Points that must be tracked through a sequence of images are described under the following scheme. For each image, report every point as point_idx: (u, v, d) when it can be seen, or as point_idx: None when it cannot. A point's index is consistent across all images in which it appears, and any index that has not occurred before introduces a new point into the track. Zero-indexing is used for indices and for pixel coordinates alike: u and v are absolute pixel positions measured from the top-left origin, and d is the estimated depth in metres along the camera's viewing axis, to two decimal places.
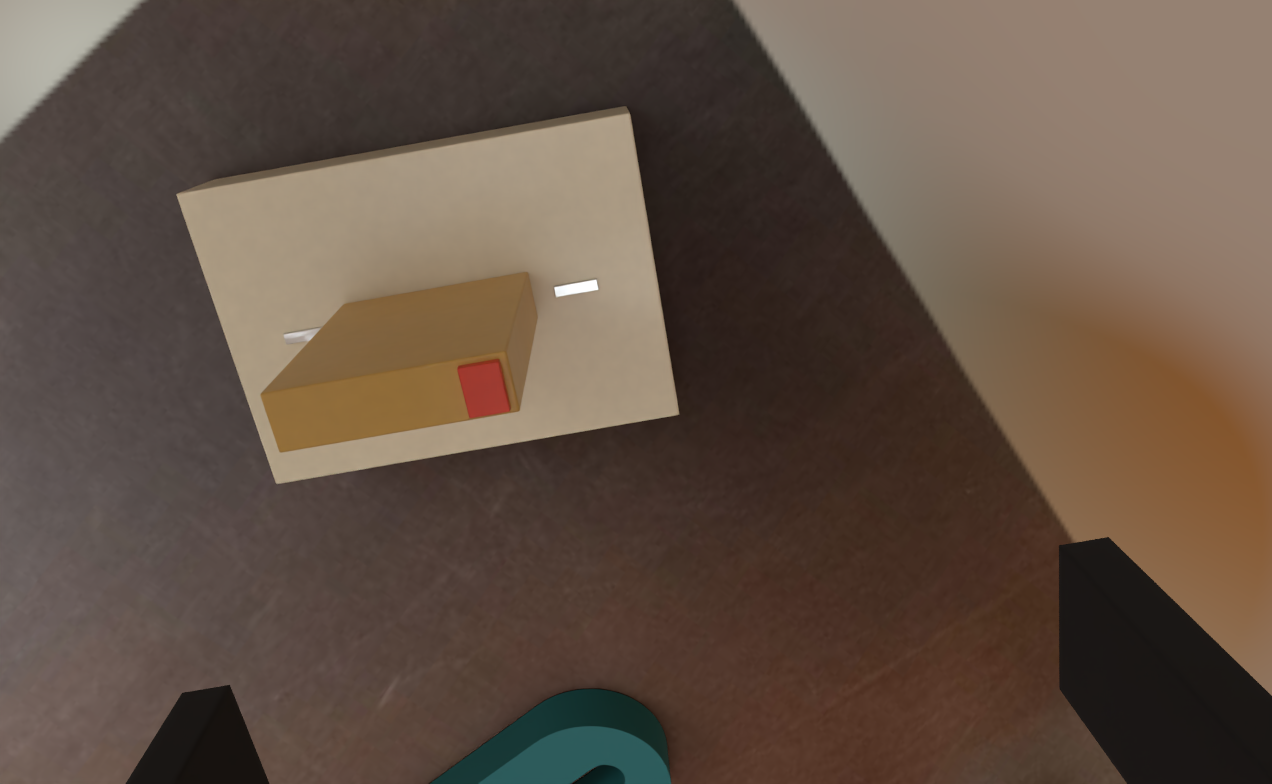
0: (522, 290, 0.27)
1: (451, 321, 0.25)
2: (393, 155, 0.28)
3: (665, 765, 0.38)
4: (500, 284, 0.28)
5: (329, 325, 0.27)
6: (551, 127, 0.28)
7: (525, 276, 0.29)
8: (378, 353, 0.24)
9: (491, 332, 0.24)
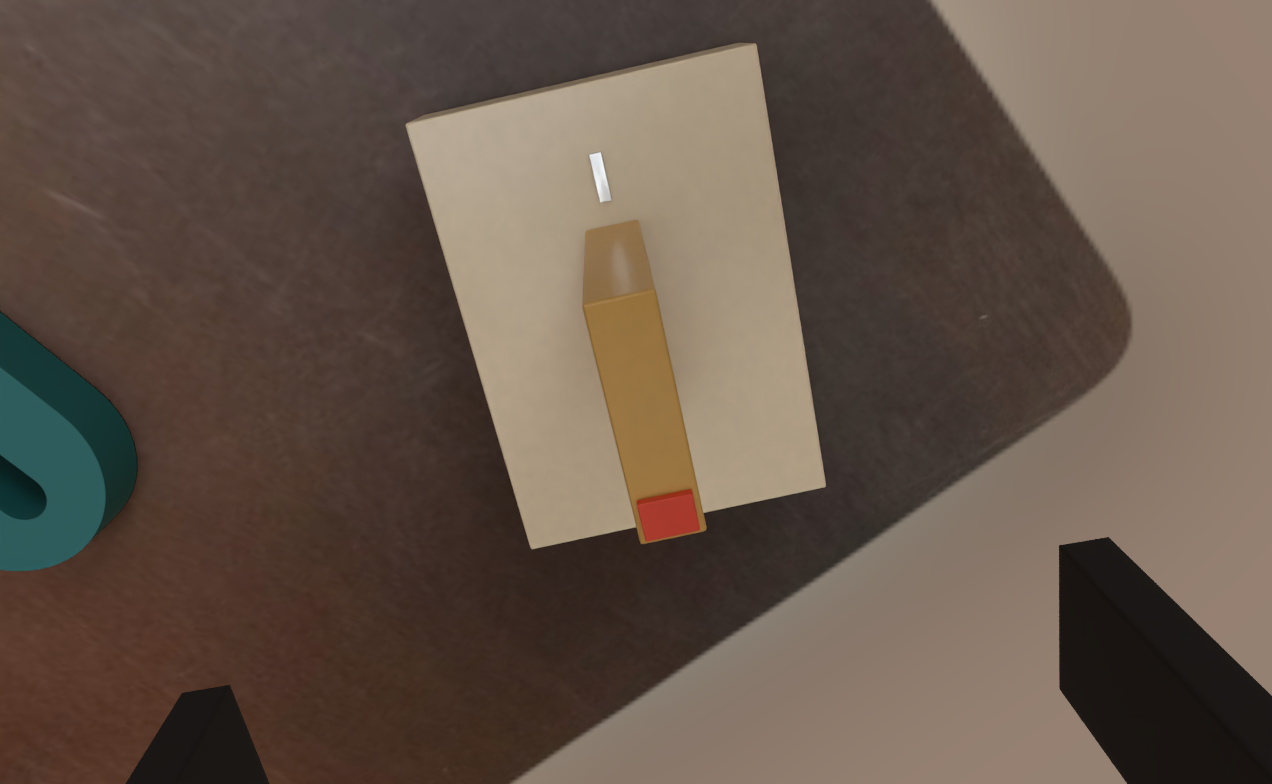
0: None
1: None
2: (792, 276, 0.28)
3: (62, 561, 0.31)
4: None
5: None
6: (815, 421, 0.30)
7: None
8: None
9: None
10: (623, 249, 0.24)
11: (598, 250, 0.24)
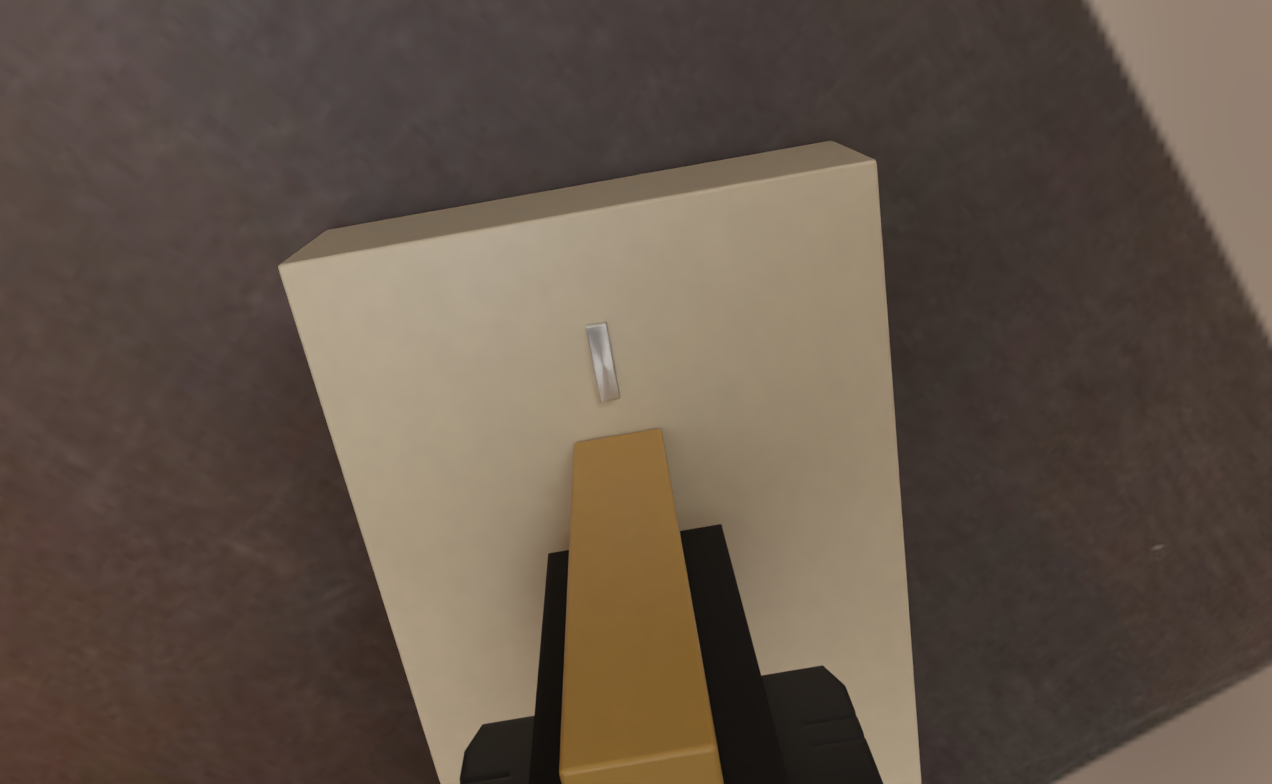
0: None
1: None
2: (901, 517, 0.18)
3: None
4: None
5: None
6: (916, 722, 0.19)
7: None
8: None
9: None
10: (640, 533, 0.13)
11: (595, 521, 0.14)
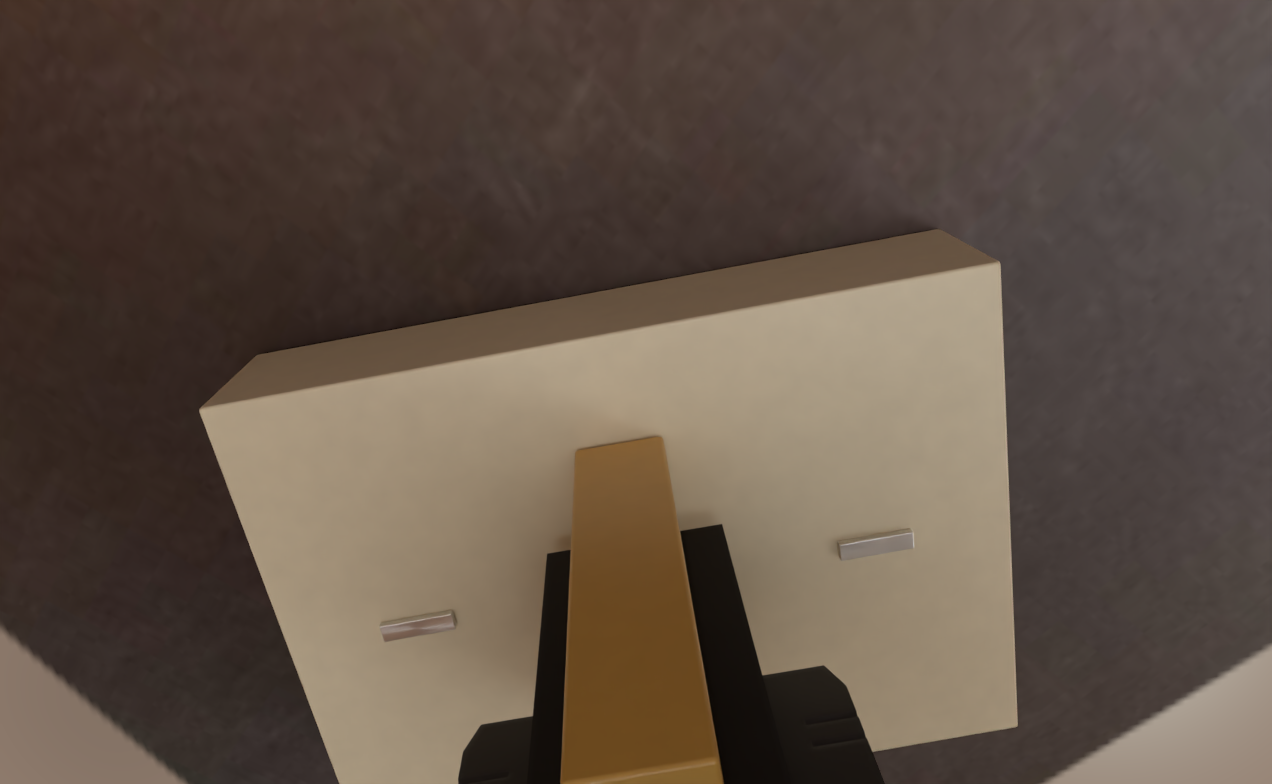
0: None
1: None
2: None
3: None
4: None
5: None
6: None
7: None
8: None
9: None
10: (642, 543, 0.13)
11: (596, 530, 0.14)
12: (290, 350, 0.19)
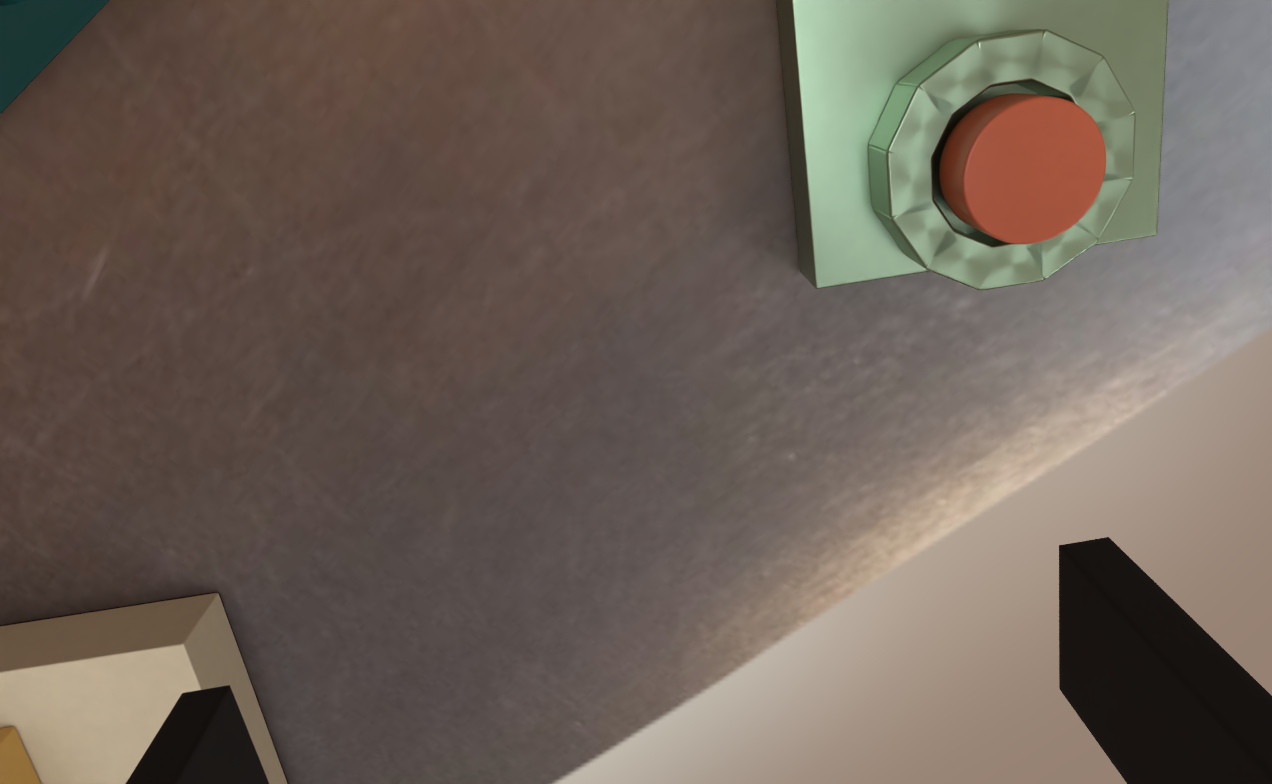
0: None
1: None
2: None
3: None
4: None
5: None
6: None
7: None
8: None
9: None
10: None
11: None
12: None
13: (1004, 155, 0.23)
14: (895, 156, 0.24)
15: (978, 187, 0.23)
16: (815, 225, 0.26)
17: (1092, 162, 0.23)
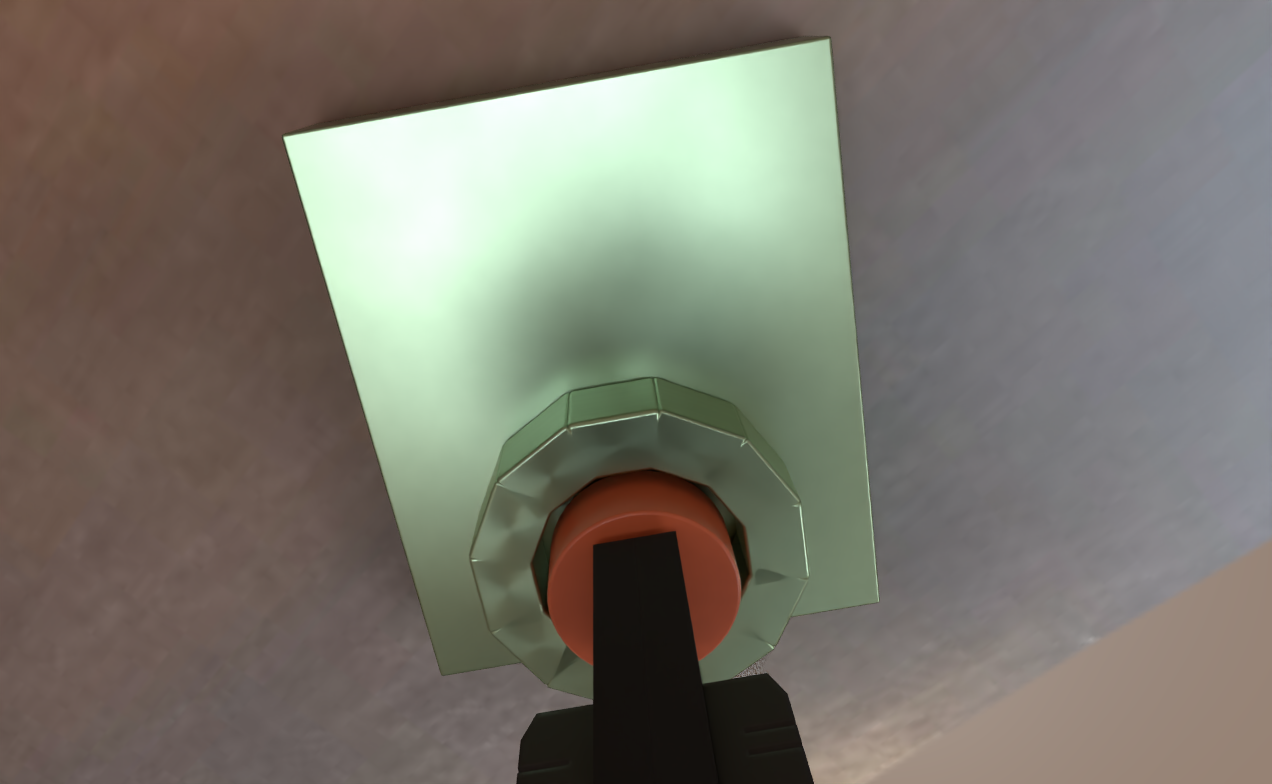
0: None
1: None
2: None
3: None
4: None
5: None
6: None
7: None
8: None
9: None
10: None
11: None
12: None
13: None
14: (480, 563, 0.18)
15: (570, 617, 0.17)
16: (426, 606, 0.20)
17: (720, 583, 0.17)
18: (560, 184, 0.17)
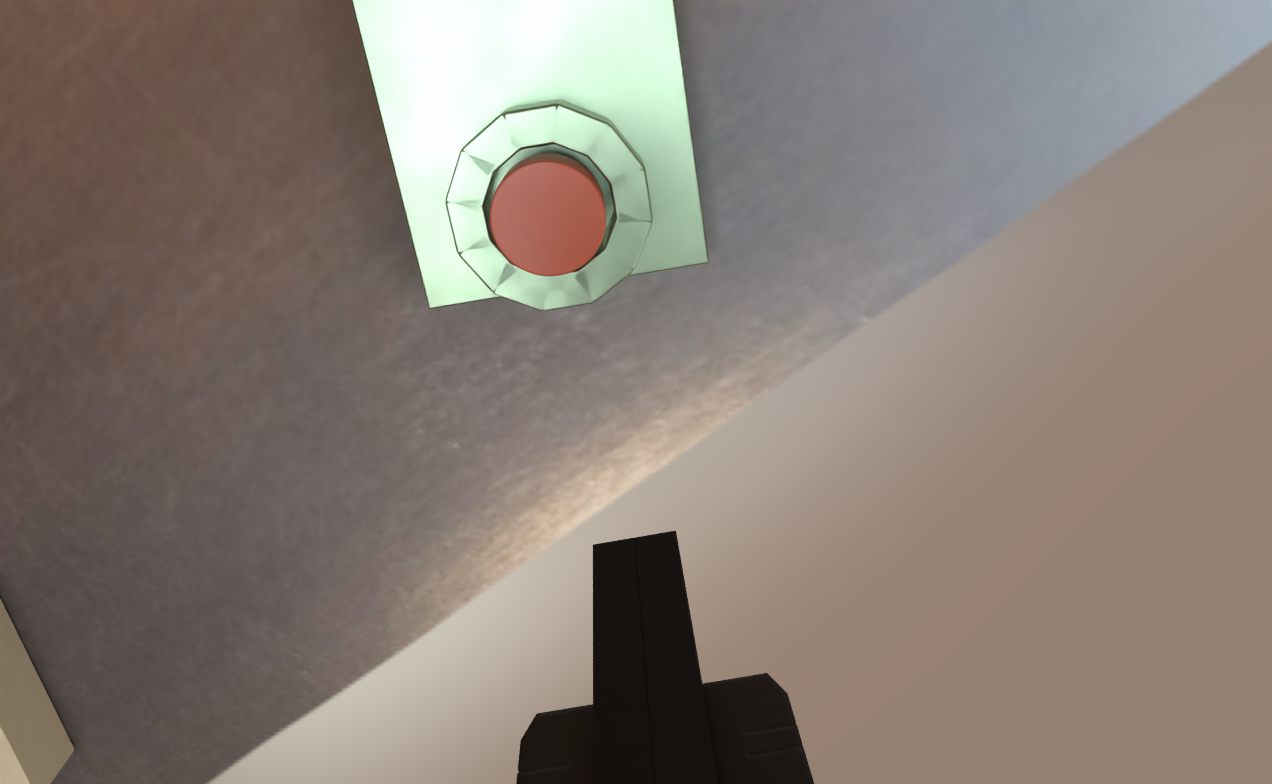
0: None
1: None
2: None
3: None
4: None
5: None
6: None
7: None
8: None
9: None
10: None
11: None
12: None
13: (519, 207, 0.29)
14: (452, 205, 0.30)
15: (503, 232, 0.29)
16: (419, 257, 0.32)
17: (593, 211, 0.29)
18: None
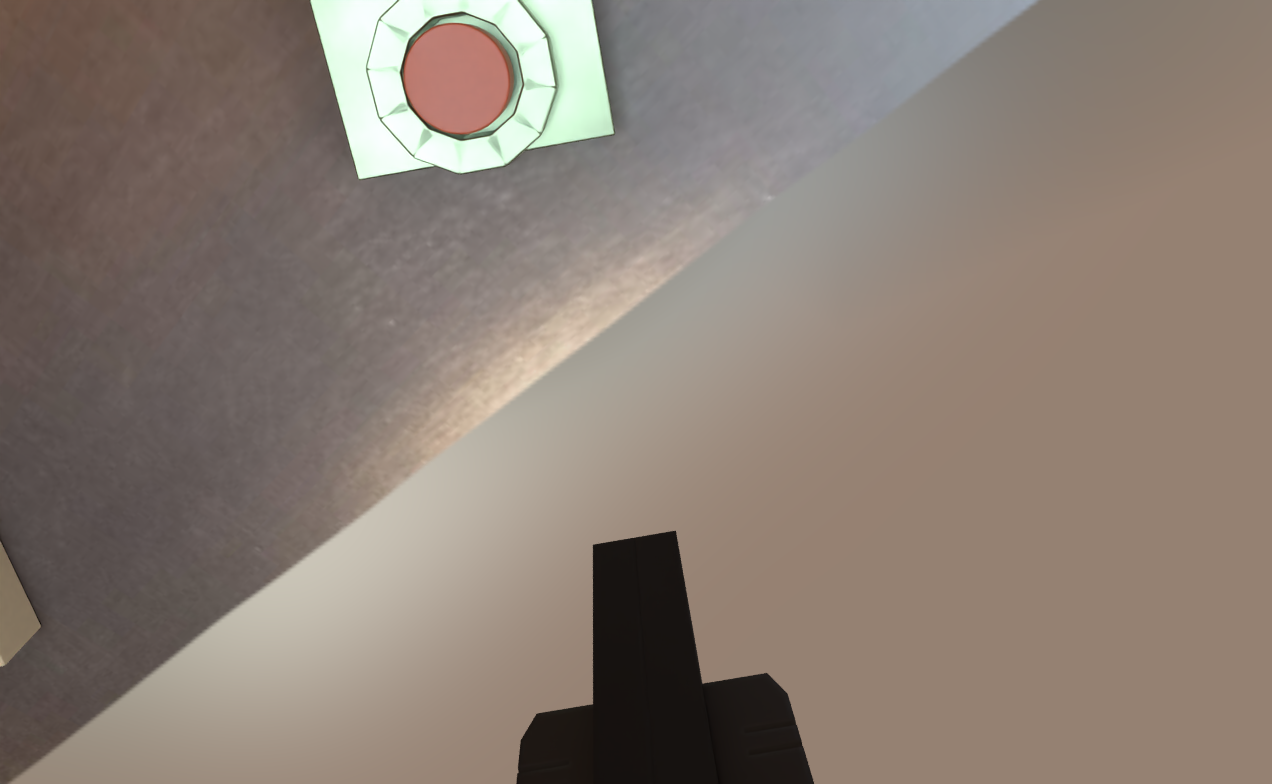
0: None
1: None
2: None
3: None
4: None
5: None
6: None
7: None
8: None
9: None
10: None
11: None
12: None
13: (430, 67, 0.31)
14: (372, 72, 0.33)
15: (416, 91, 0.32)
16: (348, 130, 0.35)
17: (497, 71, 0.31)
18: None
